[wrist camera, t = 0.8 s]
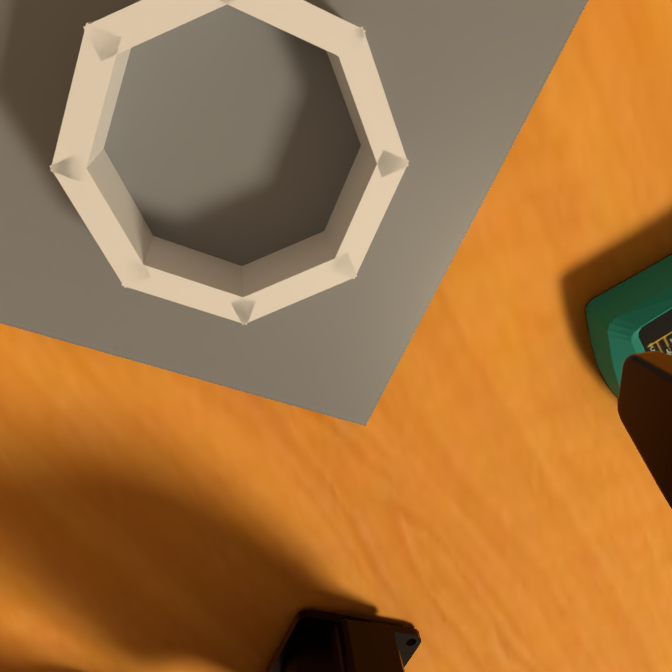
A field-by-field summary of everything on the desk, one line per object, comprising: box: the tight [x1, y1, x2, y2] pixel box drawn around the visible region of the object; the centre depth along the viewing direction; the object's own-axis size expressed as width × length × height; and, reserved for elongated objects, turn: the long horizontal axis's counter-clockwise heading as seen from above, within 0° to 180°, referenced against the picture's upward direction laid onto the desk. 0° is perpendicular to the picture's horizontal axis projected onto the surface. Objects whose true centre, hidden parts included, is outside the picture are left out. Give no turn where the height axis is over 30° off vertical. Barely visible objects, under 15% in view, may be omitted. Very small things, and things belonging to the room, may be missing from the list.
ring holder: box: [0, 0, 588, 426], centre depth 19 cm, size 16×16×4 cm
